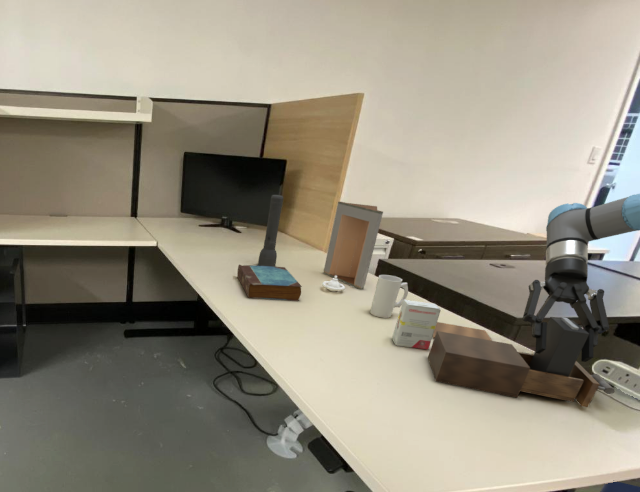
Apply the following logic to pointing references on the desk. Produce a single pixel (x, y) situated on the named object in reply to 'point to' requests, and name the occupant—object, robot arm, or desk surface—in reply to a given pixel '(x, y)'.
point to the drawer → (564, 384)
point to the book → (268, 282)
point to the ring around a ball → (333, 285)
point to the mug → (387, 295)
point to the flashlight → (271, 233)
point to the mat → (461, 331)
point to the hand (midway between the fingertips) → (563, 355)
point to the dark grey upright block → (560, 347)
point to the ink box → (416, 324)
